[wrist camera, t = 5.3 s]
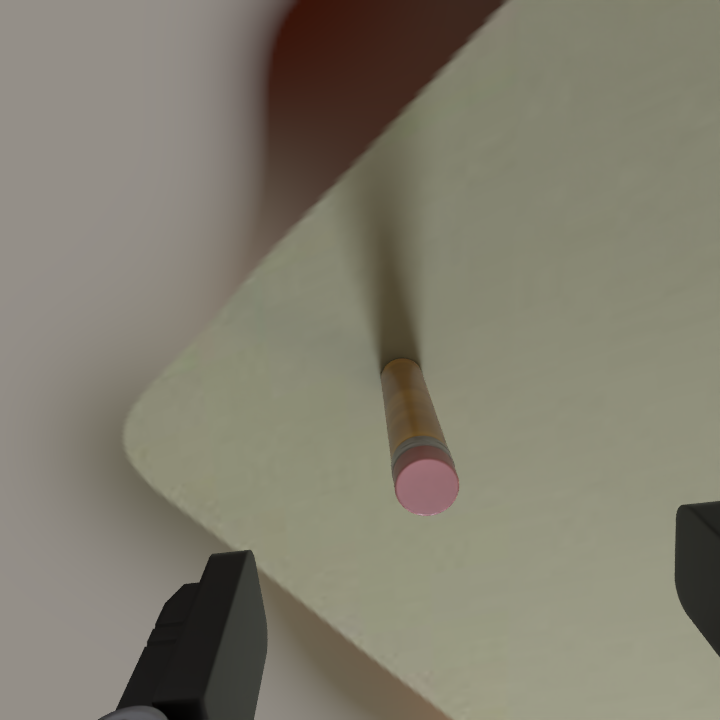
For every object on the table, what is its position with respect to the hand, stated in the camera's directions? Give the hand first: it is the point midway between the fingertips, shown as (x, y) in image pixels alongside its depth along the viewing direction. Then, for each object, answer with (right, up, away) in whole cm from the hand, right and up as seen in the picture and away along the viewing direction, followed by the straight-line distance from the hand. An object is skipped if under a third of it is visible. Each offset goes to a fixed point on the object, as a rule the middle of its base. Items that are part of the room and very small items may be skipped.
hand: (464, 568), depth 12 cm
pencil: (0, +3, +12) cm, 13 cm away
